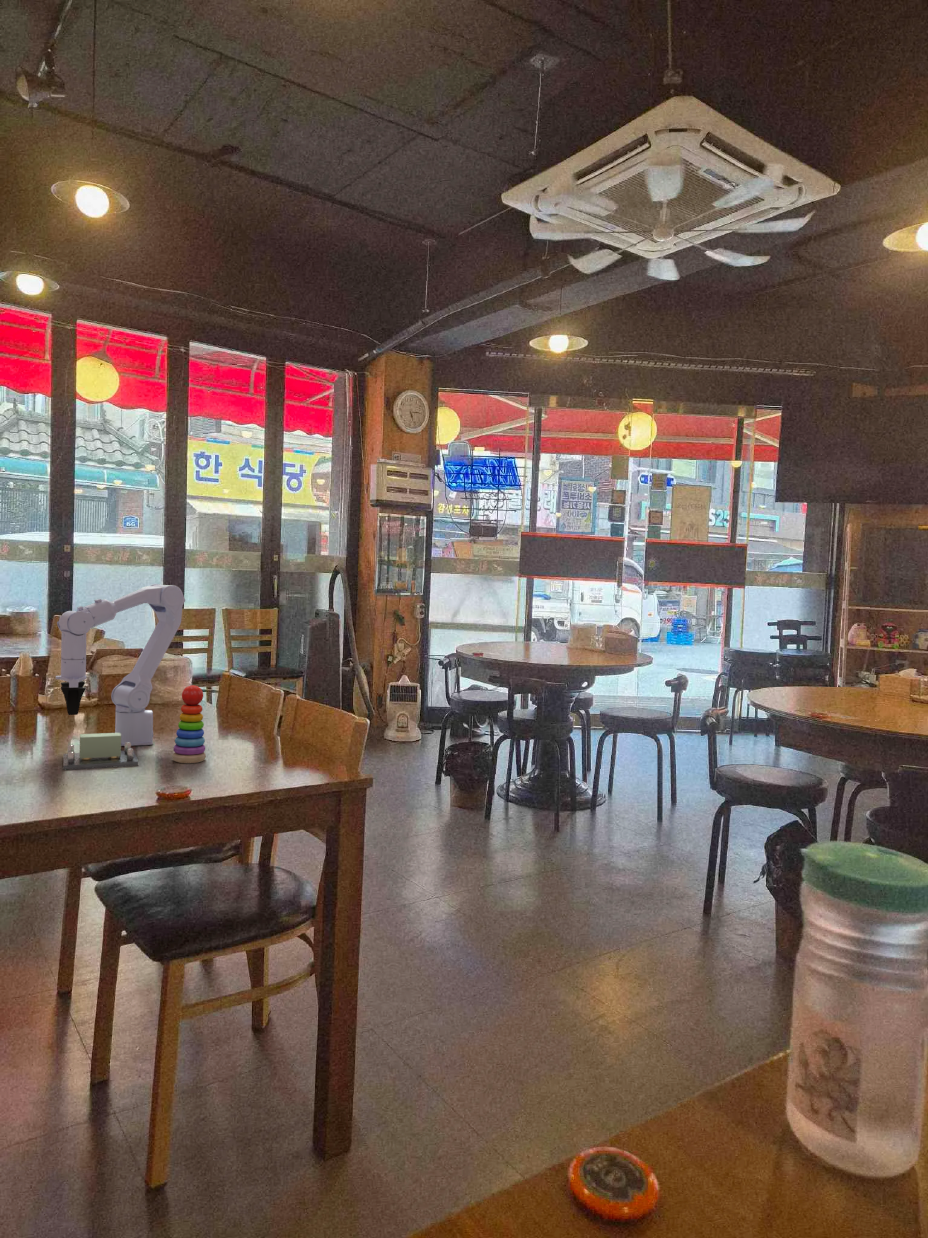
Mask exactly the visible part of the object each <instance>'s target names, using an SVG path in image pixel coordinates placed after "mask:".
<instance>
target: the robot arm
mask: <svg viewBox="0 0 928 1238" xmlns="http://www.w3.org/2000/svg"><path fill="white" fill-rule="evenodd" d="M93 601H94V602H93V603H90V604H88V605H85V606H82V605H79V606H78V607H76V610H68V611H65V612H63V613H62V615H60V617H59V619H58V621H57V622H56V625H57V627H58V629H59V631H60V632H61V644H60V645H61V646H60V647H61V648H60V649H61V650H60V651H61V652H60V675H55V680H60V681H63V682H60V690H61V692H62V694H63V697H64V700H65V704H66V711H67V715H68V716H76V715H77V716H78V714H79V712H80V711H79V710H80V707H81V701H82V697H83V695H84V693H85V691H86V689H87V688H86V686H85V684H86V682H85V680H87V677H88V676H87V634H88V633H89V632H90V630H91V629H93V628H95V627H98V626H100V625H103V624H105V623H108V622H110V621H113V620H114V619H115V617H116V615H117V613H120V612H122V611H126V610H128V609H131V608H135V607H138V606H141V605H143V604H147V605H148V606H149V607H150V608H151V609H152V610H153V612H154V613H155V615H156V617H157V620H158V622H157V624H156V626H155V628H154V629H153V631H152V633H151V634H150V637H149V638H148V640H147V643H146V644H145V646H144V648H143V649H142V651H141V654H140V655H139V657H138V659H137V661H136V663H135V664H134V667H133V669H132V670H131V671H130V672H129V673H128V674H127V675H125V676H123V678H122V679H121V681H120V682H119V683H118V684H117V685H116V686H114V688H113V689H112V691H111V697H110V698H111V701H112V703H113V704H114V705H115V726H114V728H115V730H114V733H120V734H121V747H125V743H126V742H131V747H132V746H148V745H150V746H151V745H153V743H154V742H153V738H154V712H153V710H152V709H146V707H148V705H149V704H150V700H151V692H152V690H153V688H154V687H153V683H152V679H153V677H154V675H155V673H156V671H157V670H158V667H159V666H160V664H161V662H162V660H163V658H164V656H165V654H166V652H167V651H168V649H169V647H170V645H171V644H172V641H173V640H174V637H175V635H176V633H177V631H178V629H179V628H180V626H181V623H182V615H183V606H184V604H185V603H186V599H185V596H184V594H183V591H182V590H181V588H180V587H179V586H178V585H175V584H170V585H168V584H167V585H166V584H159V583H153V584H150V585H146V586H143V587H140V588H139V589H137V590H133V591H131V592H130V593H127V594H125V595H123V596H120V597H118V598H116V599H114V600H108V599H104V598H103V599H102V598H97V599H94V600H93Z"/></svg>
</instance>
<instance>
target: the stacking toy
mask: <svg viewBox="0 0 928 1238" xmlns="http://www.w3.org/2000/svg"><path fill="white" fill-rule="evenodd" d="M203 698H204V692H203V690H202V688H201V687H200V686H198V685H191V684H190V685H188V686H186V687H185V688H184V689H183V690H182V693H181V700H182V701H183V703H184V704H183V705H181V707H180V710H181V714H180V715H179V720H180V721H179V722H178V729H177V730H176V732H175V733H176V737H175V739H174V743H175V745H174V746H173V752H174V753H172V755H171V756H172V757H171V758H172V760H173V761H174V762H176V763H180V764H196V763H201V762H203V761H205V760H206V757H207V755H206V753H205V751H206V745H205V741H206V739H205V737H204V735H205V730H204V729H203V728H204V726H205V723H204V721H202V720H203V719H204V715H203V714H202V711H203V706H202V705H201V704H200V703H201V702H202V701H203Z"/></svg>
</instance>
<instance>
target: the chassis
mask: <svg viewBox="0 0 928 1238" xmlns="http://www.w3.org/2000/svg"><path fill="white" fill-rule="evenodd" d="M62 756H63V758H62V760H63V763H62V764H63V766H64V767H63V766H62V767H63V771H66V770H65V769H72V770H87V769H86V768H89V769H104V768H106V769H107V768H120V767H119V766H123V767H137V766H139V760H138V757H137V756H136V753H135V750H134V748H132V746H131V742H126V743H125V746H124V750H121V756H116V757H97V758H80V756H79V752H76V751H75V745H74V744H68V745H67V753H63V754H62Z"/></svg>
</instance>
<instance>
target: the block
mask: <svg viewBox="0 0 928 1238" xmlns="http://www.w3.org/2000/svg"><path fill="white" fill-rule="evenodd" d="M121 751H122V746H121V734H120V733H115V732H103V733H102V732H101V733H81V734H79V752H78V753H79V756H80V758H97V757H116V756H121Z"/></svg>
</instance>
